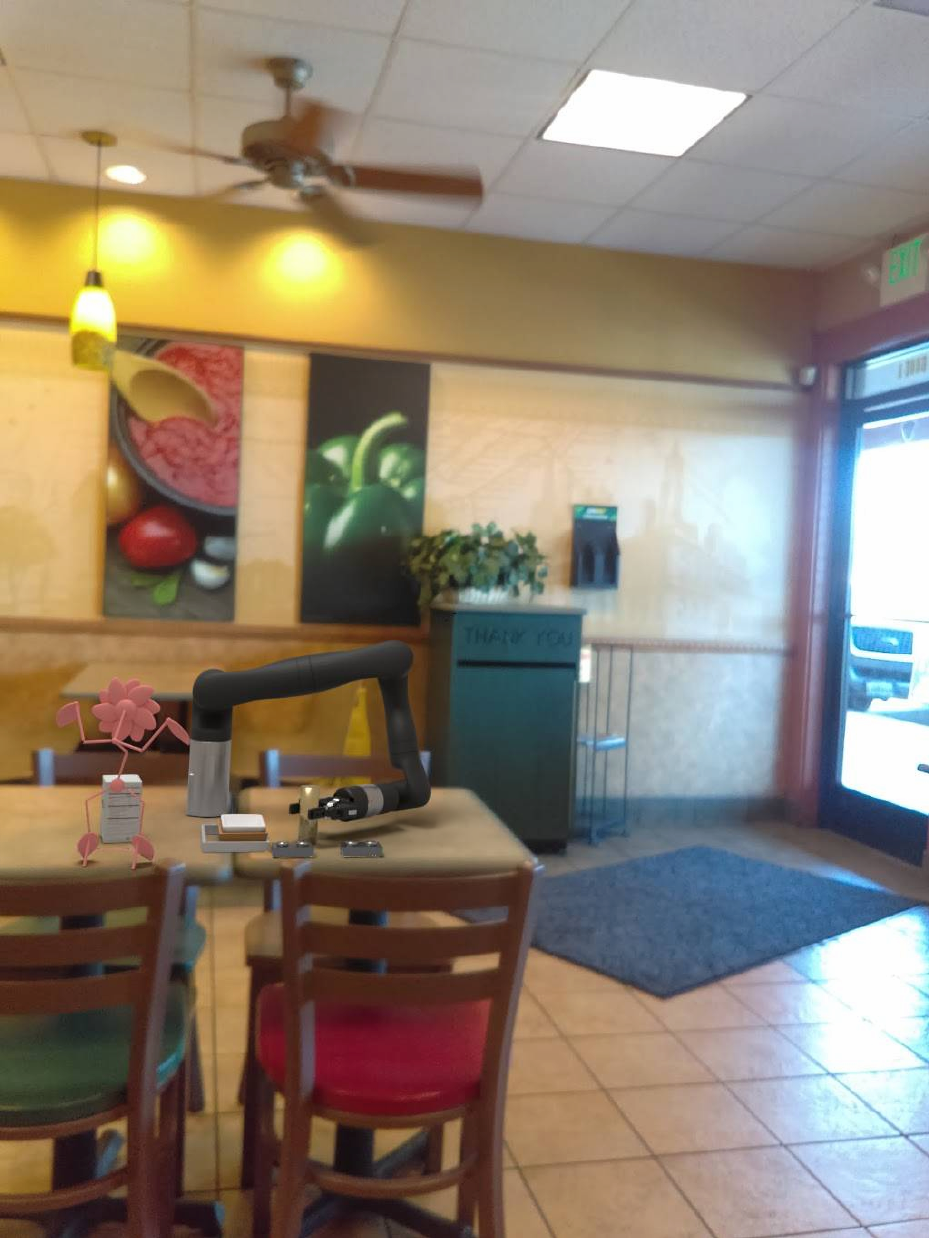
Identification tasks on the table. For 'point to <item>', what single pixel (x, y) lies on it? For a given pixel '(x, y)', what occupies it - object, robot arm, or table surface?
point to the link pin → (307, 801)
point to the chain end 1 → (292, 849)
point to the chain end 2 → (361, 848)
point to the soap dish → (242, 828)
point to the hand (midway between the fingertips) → (299, 811)
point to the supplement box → (120, 810)
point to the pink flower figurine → (123, 717)
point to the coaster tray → (230, 846)
